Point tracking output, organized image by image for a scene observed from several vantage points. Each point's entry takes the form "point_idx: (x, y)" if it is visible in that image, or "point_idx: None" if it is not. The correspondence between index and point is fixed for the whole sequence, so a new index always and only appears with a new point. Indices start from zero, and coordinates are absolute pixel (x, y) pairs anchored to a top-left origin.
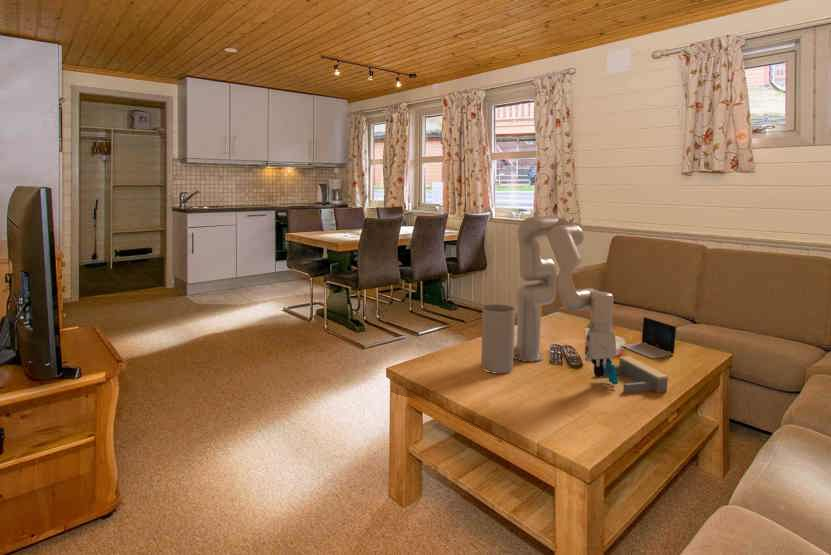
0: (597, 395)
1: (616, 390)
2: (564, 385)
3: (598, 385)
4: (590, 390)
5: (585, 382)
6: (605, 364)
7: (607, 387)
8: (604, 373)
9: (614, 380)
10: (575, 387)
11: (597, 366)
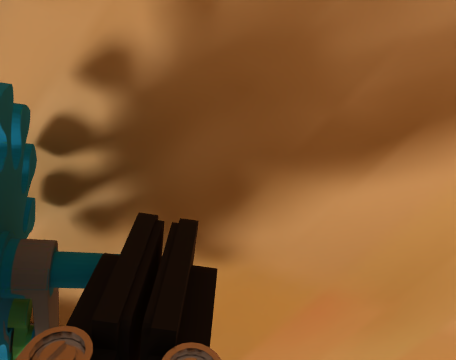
0: (358, 5)
1: (69, 44)
2: (440, 294)
3: (168, 202)
4: (322, 140)
5: (232, 282)
6: (32, 348)
7: (115, 138)
8: (79, 259)
9: (11, 147)
10: (393, 237)
11: (209, 348)
